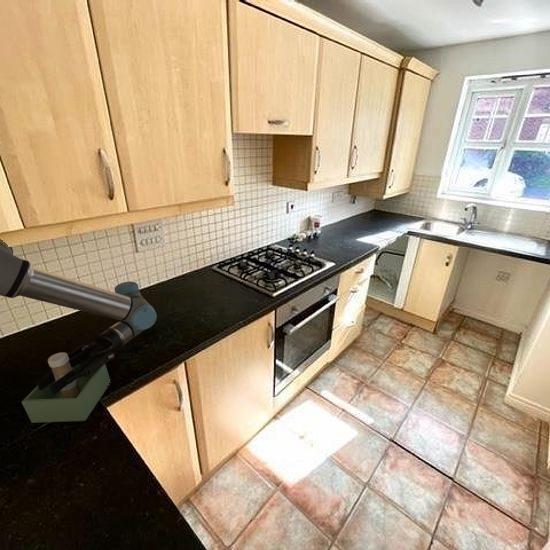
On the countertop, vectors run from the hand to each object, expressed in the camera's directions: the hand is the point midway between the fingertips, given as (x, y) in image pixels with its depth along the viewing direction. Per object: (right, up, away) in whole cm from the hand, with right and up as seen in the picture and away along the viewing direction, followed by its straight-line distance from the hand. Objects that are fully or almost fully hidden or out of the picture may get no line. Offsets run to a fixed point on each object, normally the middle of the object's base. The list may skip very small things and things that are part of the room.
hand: (45, 388), depth 80 cm
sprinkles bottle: (+2, -5, +8) cm, 9 cm away
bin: (+2, -7, +9) cm, 11 cm away
